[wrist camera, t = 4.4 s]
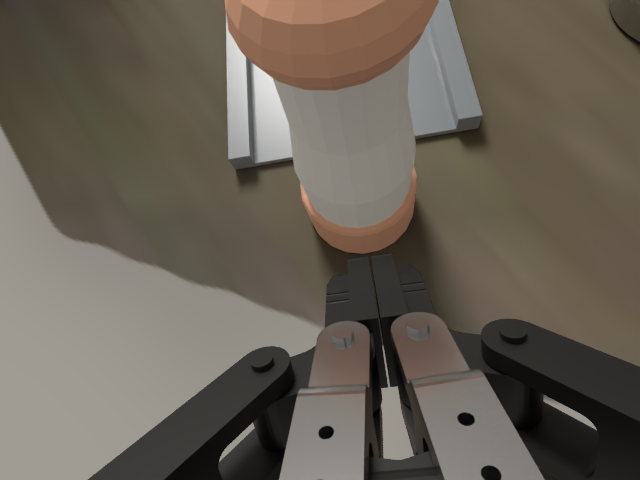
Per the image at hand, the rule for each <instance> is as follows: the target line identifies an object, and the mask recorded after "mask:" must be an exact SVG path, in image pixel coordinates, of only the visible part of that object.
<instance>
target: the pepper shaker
mask: <svg viewBox="0 0 640 480" xmlns="http://www.w3.org/2000/svg"><path fill="white" fill-rule="evenodd" d="M438 3H439V0H225V8H226V16H227V24H228V31H229V32H230V34H231V36H232V37H233V39H234V41H235V42H236V44H237V46H238V47H239V49H240V51H241V52H242V53H243V54H244V55H245V56H246V57H247V58H248V59H249V60H250V61H251V62H252V63H253V64H254V65H256V66H257V67H258V68H260V69H261V70H262V71H264V72H265V73H267V74H268V75H269V76H271V77H272V78H273V81H274V84H275V86H276V89H277V92H278V95H279V98H280V100H281V103H282V106H283V109H284V112H285V114H286V117H287V120H288V123H289V131H290V139H291V148H292V155H293V162H294V168H295V172H296V174H297V176H298V178H299V180H300V182H301V185H300V188H301V195H302V201H303V204H304V206H305V208H306V210H307V213H308V215H309V217H310V219H311V222H312V223H313V225H314V227H315V229H316V231H317V232H318V234H319V236H320V237H322V238H323V239H324V240H325V241H326V242H327V243H328V244H329V245H331V246H333V247H335V248H337V249H340V250H342V251H344V252H350V253H360V254H364V253H369V252H374V251H379V250H381V249H383V248H385V247H387V246H389V245H391V244H392V243H394V242H395V241H396V240H397V239H398V238H399V237H400V236H401V235H402V234H403V233H404V232H405V231H406V230H407V227H408V225H409V223H410V221H411V219H412V217H413V211H414V204H415V197H416V187H417V175H416V171H415V167H414V158H415V147H416V142H415V137H414V131H413V125H412V120H411V114H410V108H409V102H408V80H409V61H410V51H411V50H412V49H413V48H414V46H415V45H416V44H417V43H418V41H419V39H420V38H421V36H422V34H423V32H424V30H425V28H426V26H427V24H428V22H429V20H430V19H431V17H432V15H433V13H434V11H435V9H436V7H437V5H438Z"/></svg>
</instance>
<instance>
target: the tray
mask: <svg viewBox="0 0 640 480" xmlns="http://www.w3.org/2000/svg"><path fill="white" fill-rule="evenodd" d="M226 46H227V106H228V159H229V161H230V162H231V164H232V165H233V167H234V168H235V170H237V169H243V168H248V167H254V166H260V165H266V164H272V163H278V162H284V161H290V160H293V155H292V148H291V139H290V131H289V123H288V120H287V117H286V114H285V112H284V109H283V106H282V103H281V100H280V98H279V95H278V92H277V89H276V86H275V84H274V81H273V78H272V77H271V76H269V75H268V74H267V73H265V72H264V71H262V70H261V69H260V68H258V67H257V66H256V65H254V64H253V63H252V62H251V61H250V60H249V59H248V58H247V57H246V56H245V55H244V54H243V53H242V52H241V51H240V49H239V47H238V46H237V44H236V42H235V41H234V39H233V37H232V36H231V34H230V32H229V31H228V24H227V16H226ZM408 102H409V108H410V114H411V120H412V125H413V131H414V137H415V139H419V138H424V137H430V136H436V135H442V134H448V133H454V132H460V131H466V130H471V129H477V128H478V127H479V124H480V121H481V119H482V116H483V115H482V111H481V108H480V104H479V101H478V98H477V94H476V91H475V87H474V84H473V81H472V77H471V74H470V70H469V67H468V63H467V60H466V57H465V53H464V50H463V46H462V43H461V40H460V36H459V33H458V29H457V26H456V23H455V19H454V16H453V12H452V9H451V5H450V2H449V0H439V3H438V5H437V7H436V9H435V11H434V13H433V15H432V17H431V19H430V20H429V22H428V24H427V26H426V28H425V30H424V32H423V34H422V36H421V38H420V39H419V41H418V43H417V44H416V45H415V46H414V48H413V49H412V50H411V51H410V61H409V80H408Z"/></svg>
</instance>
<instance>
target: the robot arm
mask: <svg viewBox="0 0 640 480" xmlns="http://www.w3.org/2000/svg"><path fill="white" fill-rule="evenodd" d="M609 7H610V11H611V14H612V17H613V18H614V20H615V21H616V23H617V24H618V26H619V27H620V28H622V29H623V30H624V31H625V32H626V33H627V34H628V35H630V36H631V37H633V38H634V39H636V40H638V41H639V42H640V0H609ZM370 257H371V264H372V271H373V278H374V285H375V292H376V299H377V306H378V312H379V319H380V325H381V331H382V337H383V344H384V350H385V356H386V363H387V368H388V375H389V381H390V387H395V386H398V389H399V395H400V403H401V409H402V414H403V418H404V421H405V425H406V428H407V432H408V435H409V439H410V442H411V446H412V450H413V454H414V456H413V457H410V458H407V459H403V460H391V459H384V458H383V435H382V432H383V431H382V410H381V402H382V394H381V388H386V387H388V384H387V377H386V371H385V364H384V357H383V350H382V343H381V336H380V329H379V322H378V315H377V309H376V302H375V296H374V289H373V283H372V276H371V270H370V263H369V257H363V258H356V259H349V260H347V268H348V274H346V275H338V276H333V278H332V279H331V280H330V282H329V283H328V284H327V296H326V315H325V328H324V329H323V330H322V331H321V332H320V334H319V335H318V338H317V343H316V346H315V347H313V348H312V349H310V350H308V351H306V352H304V353H301V354H298V355H296V356H293V357H290V356H289V354H288V353H287V351H286V350H284V349H282V348H280V347H274V346H270V347H263V348H259V349H256V350H254V351H252V352H250V353H249V354H247V355H246V356H244V357H243V358H242V359H241V360H239V361H238V362H237V363H235V364H234V365H233V366H232V367H230V368H229V369H228V370H227V371H225V372H224V373H223V374H222V375H220V376H219V377H218V378H217V379H215V380H214V381H213V382H211V383H210V384H209V385H207V386H206V387H205V388H204V389H202V390H201V391H200V392H199V393H198V394H196V395H195V396H194V397H192V398H191V399H190V400H188V402H186V403H185V404H183V405H182V406H181V407H180V408H178V409H177V410H176V411H174V412H173V413H172V414H171V415H169V416H168V417H167V418H166V419H164V420H163V421H162V422H161V423H159V424H158V425H157V426H155V427H154V428H153V429H152V430H150V431H149V432H148V433H146V434H145V435H144V436H143V437H141V438H140V439H139V440H138V441H137V442H135V443H134V444H132V445H131V446H130V447H129V448H127V449H126V450H125V451H124V452H122V453H121V454H120V455H119V456H117V457H116V458H115V459H113V460H112V461H111V462H110V463H108V464H107V465H106V466H104V467H103V468H102V469H101V470H100V471H98V472H97V473H96V474H94V475H93V476H92V477H90V478H89V479H88V480H640V367H638V366H636V365H633V364H631V363H628V362H626V361H623V360H621V359H618V358H616V357H613V356H611V355H608V354H606V353H603V352H601V351H598V350H596V349H594V348H591V347H589V346H586V345H584V344H581V343H579V342H576V341H574V340H571V339H569V338H566V337H564V336H561V335H559V334H556V333H554V332H551V331H549V330H546V329H544V328H541V327H539V326H536V325H534V324H531V323H528V322H526V321H522V320H517V319H500V320H495V321H492V322H490V323H488V324H487V325H486V326H485V327H484V328H483V329H482V332H481V335H477V334H467V333H461V332H457V331H454V330H451V329H449V328H447V326H446V324H445V323H444V321H443V320H442V319H441V318H439V317H438V316H436V313H435V311H434V308H433V305H432V303H431V300H430V297H429V295H428V292H427V291H426V287H425V284H424V282H423V279H422V276H421V274H420V272H419V271H417V270H416V269H415V268H413V267H412V266H404V267H396V265H395V262H394V258H393V255H392V253H391V254H384V255H377V256H370ZM544 395H546V396H548V397H550V398H552V399H554V400H556V401H557V402H559V403H561V404H563V405H565V406H567V407H569V408H571V409H573V410H575V411H576V412H578V413H580V414H582V415H584V416H585V417H586V418H588V419H589V420H590V421H591V422H592V423H593V424H594V426H595V427H596V429H597V430H595V429H593V428H591V427H589V426H588V425H586V424H584V423H582V422H580V421H578V420H576V419H575V418H573V417H571V416H569V415H567V414H565V413H563V412H562V411H560V410H558V409H556V408H554V407H552V406H550V405H549V404H547V403H545V402H543V396H544ZM252 422H253V424H254V427H255V429H253V430H252V431H251V432H250V433H249V434H248V435H247V436H246V437H245V438H244V439H243V440H242V441H241V442H240V443H239V444H238V445H237V446H236V447H235V448H234V449H233V450H232V451H231V452H230V453H229V454H227V455H226V456H225V457H224V458H223V459H222V460H221V461H220V462H219V459H220V456H221V454H222V452H223V451H224V449H225V448H226V447H227V446H228V445H229V444H230V443H231V442H232V441H233V440H234V439H235V438H236V437H238V436H239V435H240V434H241V433H242V432H243V431H244V430H245V429H246V428H247V427H248V426H249V425H250V424H251V423H252ZM538 466H539V467H538Z"/></svg>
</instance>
